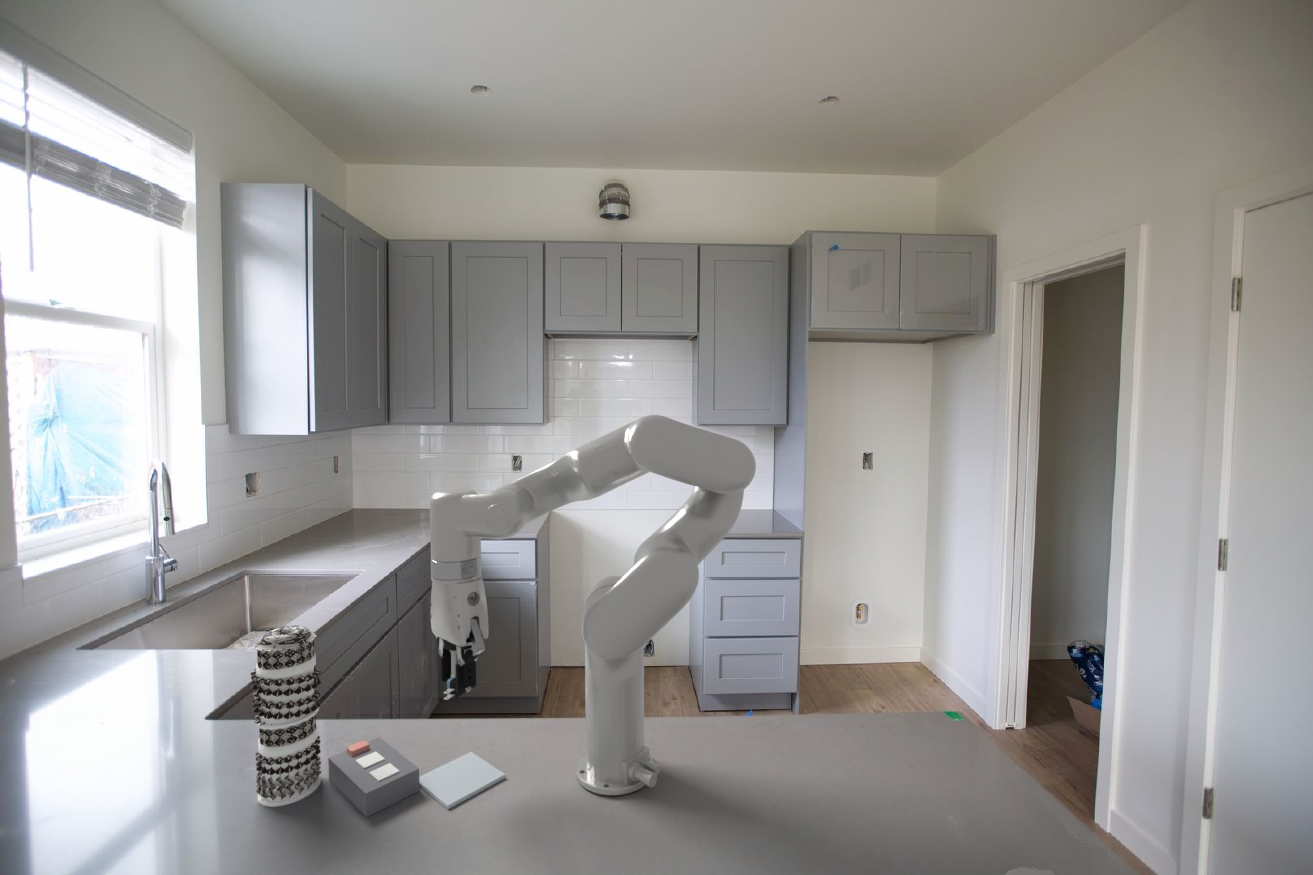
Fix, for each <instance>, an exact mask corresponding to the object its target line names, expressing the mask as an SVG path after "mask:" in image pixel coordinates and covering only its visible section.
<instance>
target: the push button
mask: <svg viewBox="0 0 1313 875" xmlns="http://www.w3.org/2000/svg"><path fill="white" fill-rule="evenodd" d="M442 641H443V642H444V648H445V649H448V650H449V651H450V652H451V671H450V675H451V676H450V677H451V678H450V679H448V680H447V681H446V688H447V689H446V690H445V691H444V692H443V694H444V695H446V696H445V697H444V698H443V700H445V701H449V699H451V698H454V699H458V698H460V697H461V696H462V695H464V694H465V693H469V692H471V690H472V689H474V688H475V687H476V686H477V683H476V684H475V685H473V686H470V687H468V688H465V689H463V690H460V691H458V690H457V689H456V666H455V665H457V664H458V657H457V648H456V645H455V644H453V643H451V642H448V641H446V640H444V639H442ZM469 641H471V639H470V638H467V639H466V642H469ZM468 649H470V646H468V647H465V648H464V654H465V652H466V651H467V650H468Z"/></svg>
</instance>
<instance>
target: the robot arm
mask: <svg viewBox="0 0 1313 875" xmlns="http://www.w3.org/2000/svg"><path fill="white" fill-rule="evenodd" d="M756 465H757V463H756V459H755V456H754V453H753V452H752V451H751V449H750V447H749V446H748V445H747V444H745V443H744V442H743V441H740V440H739V439H737V438H736V439H735V438H733V437H730V436H726V435H722V434H719V433H716V432H712V431H710V430H706V429H703V428H701V427H697V426H693V425H690V424H687V423H683V422H681V421H678V420H676V419H672V418H669V417H667V416H665V415H664V416H663V415H660V414H650V415H645V416H642V417H640V418H638V419H636V420H633V421H631V422H629V423H627V424H625V425H623V426H621V427H619V428H616V429H615V430H613V431H610V432H608V433H607V434H604V435H602V436H600V437H598V438H595V439H593V440H591V441H589V442H587V443H585V444H582V445H580V446H578V447H576V448H574V449H572V450H570V451H569V452H567V453H564V454H563V455H562V456H561V457H560V458H558V459H556V460H554V461H553V462H551V463H549V464H547V465H545V466H542V467H541V468H539V469H536V470H535V471H532V472H530V473H528V474H526V475H524V476H522V477H519V478H518V479H515V480H513V481H512V482H511V481H510V482H509V483H507V484H504V485H503V486H501V487H500V486H499V487H497V488H496V489H495V490H492V491H489V492H483V493H478V492H476V490H475V491H474V490H471V489H446V490H440V491H437V492H434V493H433V495H431V497H430V500H429V529H430V532H429V534H430V536H429V537H430V579H431V580H430V581H431V582H432V583H431V592H430V594H431V595H430V628H431V632H432V633H433V635H434V636H435V638H436V642H437V644H438V654H439V656H440V681H441V682H442V683H447V680H448V679H450V678H451V677H450V676H451V675H450V671H451V652H450V651H449V650H448V649H445V648H444V642H443V641H442V639H444V640H446V641H448V642H451V643H453V644H455V645H456V648H457V657H458V664H457V665H455V666H456V689H457V690H458V691H460V690H463V689H465V688H468V687H470V686H473V685H475V684H476V685H477V663H476V662H477V661H478V659H479V657H478V656H479V655H480V654H481V653H482V652H484V651H485V650H486V645H485V643H484V642H485V641H486V640H487V639H488V638H489V614H488V603H487V595H486V588H485V584H484V580H483V577H482V538H484V539H490V540H504V539H505V540H506V539H509V538H513V536H515V535H517V534H519V532H520V531H521V530H522V529H523V528H524V526H525V525H526V524H528V523H530V522H532V521H534V520H536V519H538V518H540V517H543V516H544V515H546V514H548V513H550V512H552V511H555V510H556V509H559V508H562V507H565V506H567V505H569V504H571V503H575V502H583V501H589V500H593V499H595V498H599V497H601V496H603V495H605V494H607V493H608V492H611V491H613V490H615V489H618V488H619V487H621V486H623V485H625V484H627V483H630V482H632V481H634V480H636V479H638V478H640V477H642V476H644V475H646V474H648V473H652V474H656V475H658V476H660V477H661V476H662V477H664V478H667V479H670V480H673V481H676V482H680V483H681V484H682V483H684V484H686V485H690V486H693V490H692V492H691V494H690V495H689V497H688V498H687V499H686V500H685V502H684V503H683V504H682V505H681V507H679V508H678V510H677V511H675V513H674V514H672V515H671V517H669V518H668V519H667V520H666V521H665V522H664V523H663V524H662V525H661V526H660V527H658V529H656V530H655V531H654V532H653V533H652V534H651V535H650V536H649V537H647V539H645V540H644V541H643V542H642V543H640V545H639V546H638V548H637V550H636V552H635V554H634V558H633V566H632V567H631V568H630V569H629V570H628V571H626V573H625V574H624V575H622V576H621V575H609V576H606V577H603V578H601V579H599V580H597V581H596V582H595V583H594V584H593V585H592V586H591V587H590V589H589V590H588V593H587V594H586V597H585V599H584V605H583V608H582V609H583V611H582V618H581V635H582V636H581V637H582V640H583V642H584V673H585V674H584V682H585V683H584V687H585V688H584V690H585V693H584V695H585V697H584V698H585V703H584V704H585V754H584V755H583V756H581V757H580V759H579V760H578V762H577V765H576V778H577V781H578V783H579V784H580V785H581V786H582V787H583V788H585V789H586V790H587V791H590V792H592V793H594V794H597V795H602V796H603V795H604V796H621V795H627V794H628V795H629V794H631V793H634V792H636V791H639V790H640V789H642V788H644V787H645V786H647V787H648V788H654V787H655V786H656V784H657V781H658V775H659V774H660V772H661V769H662V766H661V765H660V764H658V763H655V761H654V759H653V757H652V756H651V754H650V747H648V746H646V745H645V741H646V740H645V739H646V738H645V650H644V649H645V645H646V644H648V643H649V641H650V640H652V639H653V637H655V636H656V635H657V634H658V633H659V632H660V631H661V630H662V629H663V628H664V627H665V626H667V624H668V623H669V622H670V621H672V619H674V618H675V617H676V616H677V615H678V614H679V612H681V610H683V609H684V608H685V606H686V605H687V604H688V603H689V602H690V601H691V599H692V597H693V596H694V594H695V592H696V590H697V589H698V588H697V587H698V584H699V580H700V572H699V570H700V569H699V565H700V564H701V563H702V561H703V560H704V559H705V558H707V557H708V555H710V554H711V552H712V551H713V550H714V549H715V548H716V547H717V546H718V545H719V544H720V543H721V542H722V541H723V540H724V539H725V537H726V536H727V535H728V534H729V532H730V531H731V530H732V529H733V528H734V526H735V524H736V522H737V519H738V518H739V515H740V514H741V513H740V512H741V509H742V506H743V501H744V492H745V490H746V489H747V487H748V486H750V484H751V483H752V482H753V480H754V478H755V474H756V470H757V466H756ZM467 638H470V639H471V641H469V642H466V639H467ZM468 646H470V649H468V650H467V651H466V652H465V654H464V648H465V647H468Z"/></svg>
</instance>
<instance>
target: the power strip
mask: <svg viewBox="0 0 1313 875" xmlns="http://www.w3.org/2000/svg"><path fill="white" fill-rule="evenodd" d="M327 762H328V780H329V781H330V782H331V783H332V785H334V786H335V787H336V788H337V789H338V790H339V791H340V793H342V794H343V795H344V796H345V797H346V798H347V799H348V800H349V801H350V802H351V803H352V804H353V806H354V807H355V808H356V809H358V811H360V813H362V814H363V816H364V817H365V818H368V817H370V816H373V815H374V814H376V813H378V812H380V811H382V810H384V809H385V808H388V807H390V806H392V805H393V804H396V803H398V802H400V801H402V800H404V799H406V798H408V797H410V796H412V795H414V794H416V793H417V792H419V791H420V787H419V777H420V768H419V767H418V766H417V765H416V764H414V763H413V762H412V761H410V760H409V759H408V758H407V757H405V755H403V754H401V753H400V752H399V751H398V750H396V749H395V748H394V747H392V746H391V745H390V744H389V743H387V742H386V741H385V740H383V739H382V738H381V737H380V736H377V737H376V738H372V739H371V740H368V741H366V740H365V739H363V740H361V741H359V742H355V743H354V744H351V745H349V746H347V747H346V750H344V751H341V752H339V753H336V754H334V755H332V756H329V757H328V761H327Z"/></svg>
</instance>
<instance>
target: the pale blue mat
mask: <svg viewBox="0 0 1313 875" xmlns="http://www.w3.org/2000/svg"><path fill="white" fill-rule="evenodd" d="M504 779H506V773H504V772H502V771H501V770H500V769H498V768H496V767H495V766H493V765H492V764H491V763H489V762H487V761H486V760H484V759H483V758H481V757H480V756H479V755H477V754H475V753H474V752H472V751H469V752H468V753H465V754H463V755H462V756H460V757H457V758H455V759H453V760H451V761H449V762H447V763H445V764H442V765H441V766H438V767H437V768H434V769H432V770H431V771H428V772H426V773H423V774H422V775H419V788H421V789H422V790H423V791H424V792H425V793H427V794H428V795H429V796H430V797H432V798H433V799H434V800H435V801H436V802H438V803H439V804H440V805H441V806H443V807H444V809H446V810H450V809H451V808H453V807H456V806H457V805H460V804H461V803H462V802H464V801H467V800H468V799H470V798H472V797H473V796H475V795H477V794H480V792H482V791H485V790H486V789H488V788H490V787H491V786H493V785H495V784H497V783H499V782H501V781H503V780H504Z"/></svg>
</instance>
